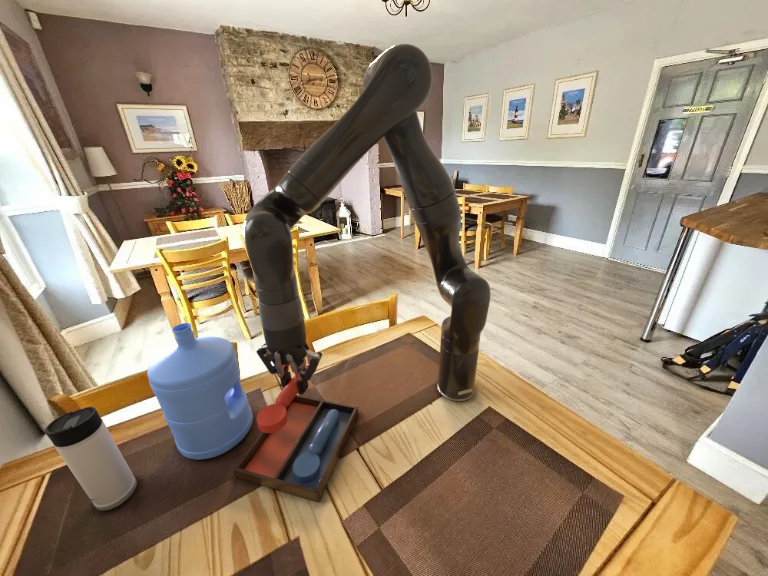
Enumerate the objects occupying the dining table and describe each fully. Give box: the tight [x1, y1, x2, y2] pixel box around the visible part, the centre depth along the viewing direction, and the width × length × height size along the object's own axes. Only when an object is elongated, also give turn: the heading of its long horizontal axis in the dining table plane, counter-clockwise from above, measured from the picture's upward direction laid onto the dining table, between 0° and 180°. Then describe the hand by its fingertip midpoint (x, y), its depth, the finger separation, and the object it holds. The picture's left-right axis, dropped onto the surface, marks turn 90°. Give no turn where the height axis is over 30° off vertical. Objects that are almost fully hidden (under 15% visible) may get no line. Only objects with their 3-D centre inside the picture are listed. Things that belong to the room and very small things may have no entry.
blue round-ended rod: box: [293, 409, 339, 483], centre depth 66 cm, size 17×5×3 cm, turn 164°
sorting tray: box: [232, 394, 359, 503], centre depth 67 cm, size 21×18×3 cm
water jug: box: [146, 322, 254, 461], centre depth 66 cm, size 16×16×28 cm
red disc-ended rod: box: [256, 364, 309, 433], centre depth 62 cm, size 17×5×3 cm, turn 165°
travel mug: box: [44, 406, 138, 512], centre depth 55 cm, size 6×7×20 cm
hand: (295, 389), depth 64 cm, fingers closed on red disc-ended rod, 2 cm apart
